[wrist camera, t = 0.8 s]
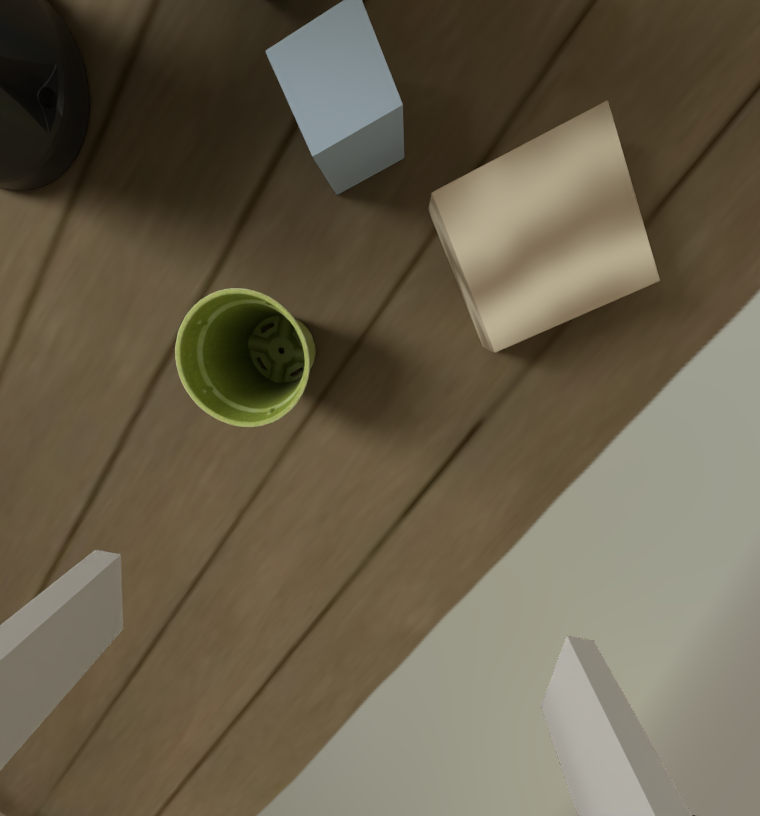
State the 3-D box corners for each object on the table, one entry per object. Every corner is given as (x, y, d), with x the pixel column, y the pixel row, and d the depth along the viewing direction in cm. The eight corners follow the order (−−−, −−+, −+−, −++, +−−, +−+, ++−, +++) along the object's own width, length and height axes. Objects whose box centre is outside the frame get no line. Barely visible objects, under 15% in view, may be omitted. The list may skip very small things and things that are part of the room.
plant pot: (210, 335, 34) (146, 342, 26) (291, 272, 32) (250, 258, 24) (273, 418, 36) (232, 450, 27) (354, 362, 34) (336, 379, 26)
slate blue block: (302, 118, 30) (265, 51, 22) (371, 77, 29) (358, -10, 21) (336, 195, 31) (312, 156, 23) (404, 158, 30) (402, 104, 22)
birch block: (427, 211, 31) (431, 192, 26) (574, 135, 29) (607, 100, 24) (482, 346, 33) (494, 352, 28) (621, 285, 31) (660, 280, 26)
